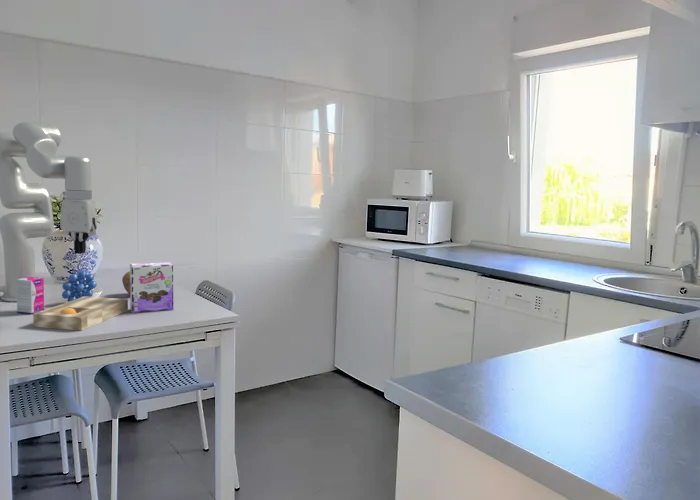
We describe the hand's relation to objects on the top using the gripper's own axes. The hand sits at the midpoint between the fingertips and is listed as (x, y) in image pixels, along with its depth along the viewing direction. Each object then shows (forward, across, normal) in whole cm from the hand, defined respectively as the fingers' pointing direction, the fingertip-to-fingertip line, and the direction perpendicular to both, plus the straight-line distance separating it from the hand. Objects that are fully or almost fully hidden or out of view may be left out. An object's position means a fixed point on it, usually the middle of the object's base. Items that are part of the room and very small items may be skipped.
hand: (80, 252), depth 170 cm
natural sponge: (+22, -1, +34) cm, 40 cm away
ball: (+19, +1, -7) cm, 20 cm away
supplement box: (+22, -20, +2) cm, 30 cm away
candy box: (+22, +16, +16) cm, 31 cm away
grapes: (+22, -13, +17) cm, 31 cm away
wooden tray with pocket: (+21, +1, 0) cm, 21 cm away
